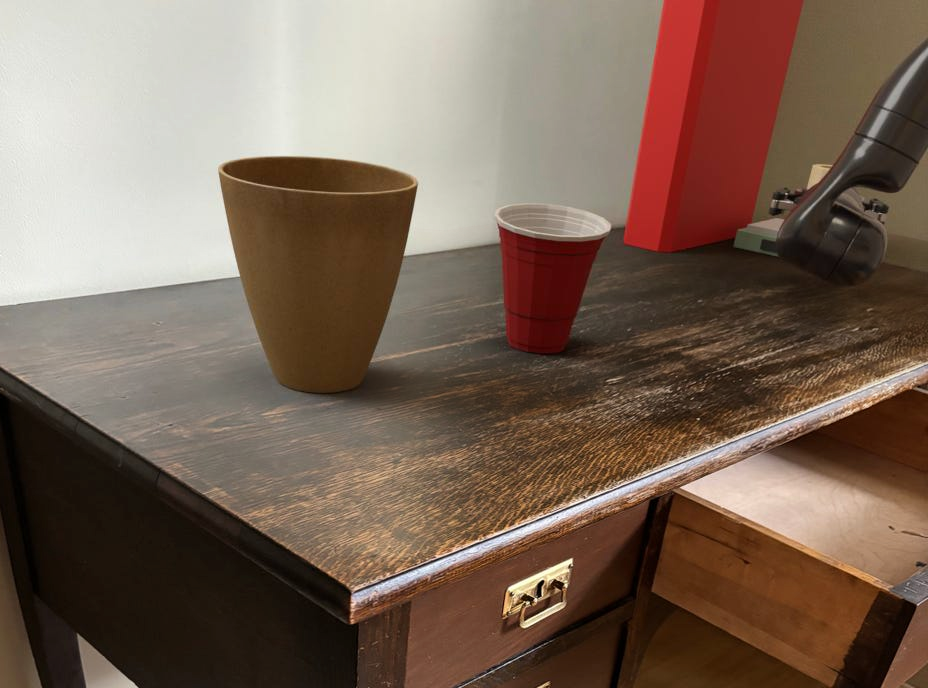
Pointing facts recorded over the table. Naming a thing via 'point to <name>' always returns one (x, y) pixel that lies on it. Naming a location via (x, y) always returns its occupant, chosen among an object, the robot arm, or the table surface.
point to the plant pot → (317, 260)
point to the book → (708, 119)
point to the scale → (759, 237)
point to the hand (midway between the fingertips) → (826, 199)
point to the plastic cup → (545, 270)
